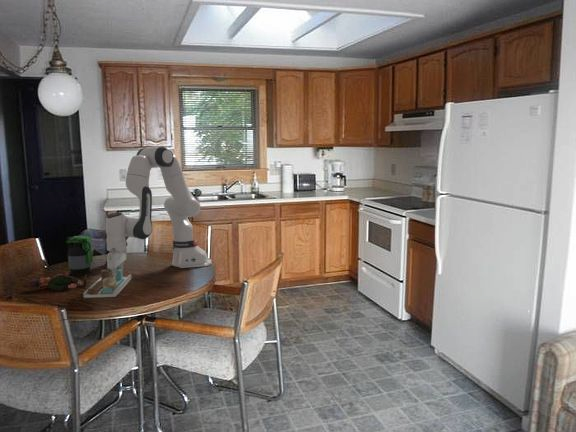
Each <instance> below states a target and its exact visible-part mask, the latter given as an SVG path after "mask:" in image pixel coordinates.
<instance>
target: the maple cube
mask: <svg viewBox="0 0 576 432" xmlns="http://www.w3.org/2000/svg"><path fill="white" fill-rule="evenodd" d="M115 287H116V277H115V276H114V277H113V276H112V277H111V276H109V278H105V279H104V280H103V288H112V290H114V289H115Z"/></svg>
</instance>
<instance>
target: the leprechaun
mask: <svg viewBox="0 0 576 432" xmlns="http://www.w3.org/2000/svg"><path fill="white" fill-rule="evenodd" d="M87 280H88V276H87V274H84V280H80V279H77V277H75V276H74V275H73V274H71V273H69V272H61V273H58V274H56V275H53V276H52V277H49V276H47V277H42V276H39V278H38V279H29V281H28V284H29V288H30V289H34V288H40V289H41V290H43V289H44V288H49V289H51V290H55V291H58V292H59V291H60V292H62V291H66V290H69V289H75V287H82V286H83V287H87V283H88V282H87Z"/></svg>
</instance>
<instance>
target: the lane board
mask: <svg viewBox="0 0 576 432" xmlns="http://www.w3.org/2000/svg"><path fill="white" fill-rule="evenodd" d="M123 278H124V281H123V282H122V283H121V284H120V285H119V286H118V287H117V288H116V289H115V290H114V291H113V293H107V294H103V288H102V289H101V290H100V291H99V292H98V294H88V289H91V288H93V287H94V286H95V285H96V284H97V283H98V282H99V281H100V280H101V277H100V278H99V279H98V280H96V281H95V282H94V283H92V284H91V286H90V287H88V288H87V289H86V290H84V292H82V294H83V298H84V299H86V298H87V299H88V298H113V297H114V298H115V297H117V296H118V295H119V293H120V292H122V290H124V287H125V286H126V285H128V283H129V282H130V281H131V280H132V274H128V275H127V276H123Z"/></svg>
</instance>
